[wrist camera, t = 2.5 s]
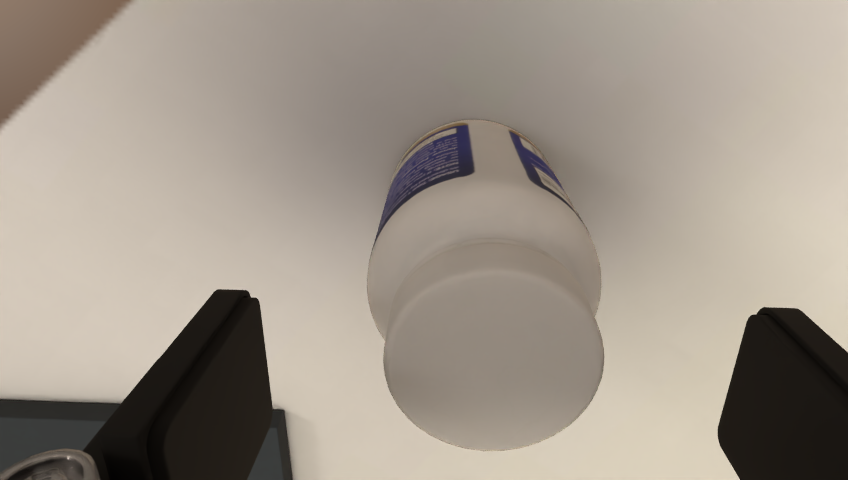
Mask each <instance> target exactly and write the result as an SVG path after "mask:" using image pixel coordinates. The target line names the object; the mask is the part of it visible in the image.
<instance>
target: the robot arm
mask: <svg viewBox="0 0 848 480" xmlns="http://www.w3.org/2000/svg"><path fill="white" fill-rule="evenodd" d="M272 413H273V409H272V400H271V392H270V383H269V375H268V367H267V359H266V351H265V343H264V335H263V326H262V318H261V310H260V304H259V301H258V299H257V298H251V296H250V294H249V292H248V291H247V290H221V289H219V290H216V291H215V292H214V293H213V294H212V295H211V297H210V298H209V299H208V300H207V301H206V303H205V304H204V305H203V306H202V307H201V309H200V310H199V311H198V312H197V313H196V315H195V316H194V317H193V318H192V320H191V321H190V322H189V323H188V324H187V326H186V327H185V328H184V329H183V330H182V332H181V333H180V334H179V335H178V337H177V338H176V339H175V340H174V341H173V343H172V344H171V345H170V346H169V347H168V349H167V350H166V351H165V352H164V353H163V355H162V356H161V357H160V358H159V359H158V360H157V361H156V362H155V363H154V365H153V366H152V367H151V368H150V370H149V371H148V372H147V373H146V374H145V376H144V377H143V378H142V379H141V380H140V382H139V383H138V384H137V385H136V386H135V388H134V389H133V390H132V391H131V392H130V394H129V395H128V396H127V397H126V399H125V400H124V401H123V402H122V403H121V405H120V406H119V407H118V408H117V409H116V411H115V412H114V413H113V414H112V415H111V417H110V418H109V419H108V420H107V422H106V423H105V424H104V425H103V426H102V428H101V429H100V430H99V431H98V432H97V434H96V435H95V436H94V437H93V438H92V440H91V441H90V442H89V443H88V444H87V446H86V447H85V448H84V449H83V451H81V450H75V449H67V448H66V449H57V450H49V451H46V452H42V453H39V454H36V455H32V456H30V457H28V458H25V459H23V460H21V461H19V462H17V463H15V464H13V465H11V466H10V467H8V468H7V469H5V470H4V471H2V472H1V473H0V480H247V479H248V477H249V474H250V472H251V470H252V467H253V465H254V463H255V461H256V458H257V456H258V454H259V451H260V449H261V447H262V444H263V442H264V440H265V438H266V435H267V433H268V431H269V428H270V425H271V421H272ZM718 439H719V443H720V446H721V448H722V450H723V451H724V453H725V455H726V456H727V458H728V460H729V462H730V463H731V465H732V467H733V468H734V470H735V472H736V473H737V475H738V477H739V478H740V480H848V353H847V352H846V351H845V350H844V349H843V348H842V347H841V346H840V345H839V344H837V343H836V342H835V341H834V340H833V339H832V338H831V337H830V336H829V335H827V334H826V333H825V332H824V331H823V330H822V329H821V328H820V327H819V326H817V325H816V324H815V323H814V322H813V321H812V320H811V319H810V318H809V317H808V316H806V315H805V314H804V313H803V312H802V311H800V310H799V309H795V308H769V307H764V308H762V309H760V310H759V311H758V313H757V315H751V316H750V317H749V318H748V321H747V323H746V327H745V331H744V334H743V338H742V342H741V345H740V349H739V353H738V356H737V360H736V364H735V367H734V371H733V374H732V378H731V382H730V385H729V389H728V393H727V396H726V400H725V404H724V407H723V411H722V415H721V418H720V422H719V426H718Z"/></svg>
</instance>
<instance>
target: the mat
mask: <svg viewBox="0 0 848 480" xmlns="http://www.w3.org/2000/svg"><path fill="white" fill-rule="evenodd" d="M119 406H120V404H94V403H67V402H40V401H14V400H0V473H1V472H2V471H4V470H5V469H7V468H8V467H10V466H11V465H13V464H15V463H17V462H19V461H21V460H23V459H25V458H28V457H30V456H32V455H36V454H39V453H42V452H46V451H49V450H57V449H66V448H67V449H75V450H81V451H83V449H84V448H85V447H86V446H87V444H88V443H89V442H90V441H91V440H92V438H93V437H94V436H95V435H96V434H97V432H98V431H99V430H100V429H101V428H102V426H103V425H104V424H105V423H106V422H107V420H108V419H109V418H110V417H111V415H112V414H113V413H114V412H115V411H116V409H117V408H118V407H119ZM247 480H292V474H291V465H290V457H289V449H288V440H287V432H286V424H285V416H284V411H280V410H273V413H272V421H271V425H270V428H269V431H268V433H267V435H266V438H265V440H264V442H263V444H262V447H261V449H260V451H259V454H258V456H257V458H256V461H255V463H254V465H253V467H252V470H251V472H250V474H249V477H248V479H247Z"/></svg>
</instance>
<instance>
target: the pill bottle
mask: <svg viewBox="0 0 848 480" xmlns="http://www.w3.org/2000/svg"><path fill="white" fill-rule="evenodd" d="M367 292H368V300H369V305H370V309H371V313H372V316H373V319H374V321H375V324H376V326H377V328H378V330H379V332H380V334H381V335H382V337H383V339H384V340H385V347H384V360H383V361H384V371H385V377H386V381H387V384H388V388H389V390H390V392H391V395H392V396H393V398H394V400H395V401H396V403H397V405H398V406H399V408H400V409H401V410H402V412H403V413H404V414H405V415H406V416H407V418H408V419H410V420H411V421H412V422H413V423H414V424H415V425H416V426H418V427H419V428H420V429H422V430H423V431H425V432H426V433H428V434H429V435H431V436H433V437H435V438H437V439H439V440H441V441H444V442H446V443H449V444H451V445H455V446H458V447H462V448H466V449H473V450H480V451H503V450H511V449H518V448H522V447H526V446H529V445H532V444H535V443H538V442H540V441H543V440H545V439H547V438H549V437H551V436H554V435H555V434H556V433H558V432H560V431H562V430H563V429H564V428H566V427H567V426H569V425H570V424H571V423H573V422H574V421H575V420H576V419H577V418H578V417H579V416H580V415H581V414H582V413H583V412H584V410H585V409H586V408H587V406H588V405H589V403H590V402H591V400H592V399H593V397H594V395H595V393H596V391H597V389H598V386H599V384H600V381H601V378H602V373H603V366H604V348H603V342H602V337H601V333H600V330H599V328H598V325H597V322H596V320H595V315H596V312H597V309H598V305H599V301H600V294H601V269H600V264H599V259H598V256H597V252H596V249H595V247H594V244H593V242H592V240H591V237H590V235H589V232H588V230H587V228H586V227H585V225H584V223H583V222H582V220H581V218H580V217H579V214H578V213H577V211H576V210H575V208H574V207H573V205H572V203H571V202H570V200H569V198H568V196H567V194H566V193H565V191H564V189H563V188H562V186H561V184H560V182H559V181H558V179H557V177H556V176H555V174H554V172H553V170H552V169H551V167H550V165H549V163H548V162H547V160H546V159H545V157H544V156H543V154H542V153H541V152H540V150H539V149H538V148H537V147H536V146H535V145H534V144H533V143H532V142H531V141H530V140H529V139H528V138H526V137H525V136H523V135H522V134H520V133H519V132H517V131H515V130H513V129H512V128H509V127H507V126H504V125H502V124H499V123H495V122H491V121H486V120H461V121H455V122H452V123H448V124H445V125H443V126H440V127H438V128H436V129H434V130H432V131H430V132H428V133H427V134H425V135H424V136H422V137H421V138H420V139H418V140H417V141H416V142H415V143H414V144H413V145H412V146H411V147H410V148H409V149H408V150H407V151H406V153H405V154H404V156H403V157H402V159H401V160H400V162H399V164H398V166H397V168H396V170H395V173H394V175H393V178H392V181H391V184H390V188H389V192H388V195H387V199H386V203H385V206H384V210H383V214H382V218H381V221H380V224H379V228H378V232H377V235H376V239H375V242H374V245H373V248H372V252H371V256H370V261H369V268H368V277H367Z"/></svg>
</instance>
